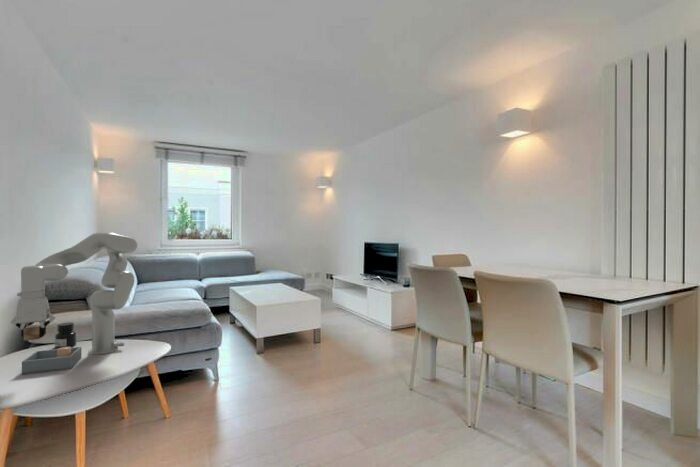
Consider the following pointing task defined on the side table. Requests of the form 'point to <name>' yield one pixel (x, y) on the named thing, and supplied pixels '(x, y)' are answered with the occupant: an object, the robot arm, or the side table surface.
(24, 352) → the side table surface
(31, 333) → the walnut cube
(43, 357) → the tote
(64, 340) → the ink bottle
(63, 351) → the peach domed capsule
